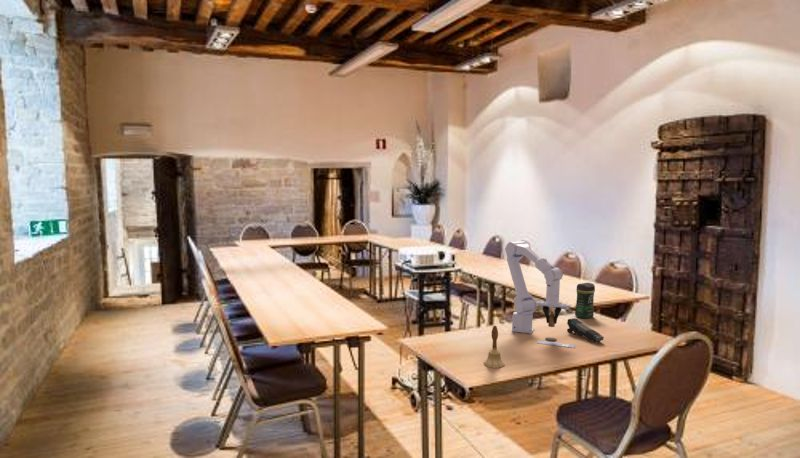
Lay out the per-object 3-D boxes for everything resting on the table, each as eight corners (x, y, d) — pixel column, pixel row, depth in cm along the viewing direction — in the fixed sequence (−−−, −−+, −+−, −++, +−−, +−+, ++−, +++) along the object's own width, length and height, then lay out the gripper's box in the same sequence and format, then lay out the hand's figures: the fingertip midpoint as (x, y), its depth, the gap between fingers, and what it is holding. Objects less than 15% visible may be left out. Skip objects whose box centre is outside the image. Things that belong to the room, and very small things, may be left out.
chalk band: (537, 343, 239) (537, 342, 239) (538, 340, 243) (538, 340, 243) (573, 348, 233) (573, 347, 233) (574, 345, 236) (574, 345, 236)
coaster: (544, 340, 243) (544, 339, 243) (546, 337, 248) (546, 336, 248) (555, 342, 241) (555, 341, 241) (557, 338, 246) (557, 338, 246)
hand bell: (507, 368, 208) (508, 328, 207) (486, 368, 208) (487, 328, 206) (501, 360, 216) (502, 322, 215) (481, 361, 216) (482, 323, 214)
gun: (571, 329, 260) (576, 312, 256) (598, 354, 243) (604, 337, 239) (563, 330, 258) (569, 313, 254) (590, 356, 241) (597, 338, 237)
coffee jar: (585, 319, 279) (586, 285, 277) (572, 316, 285) (574, 282, 284) (596, 317, 284) (597, 283, 283) (583, 313, 291) (585, 280, 289)
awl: (547, 326, 243) (548, 312, 242) (548, 325, 246) (549, 310, 245) (554, 327, 242) (554, 312, 241) (555, 325, 245) (555, 311, 244)
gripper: (535, 294, 242) (534, 323, 243) (568, 297, 236) (566, 327, 237) (537, 291, 248) (536, 319, 249) (569, 294, 242) (568, 323, 244)
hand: (551, 322), depth 244 cm, fingers closed on awl, 3 cm apart
